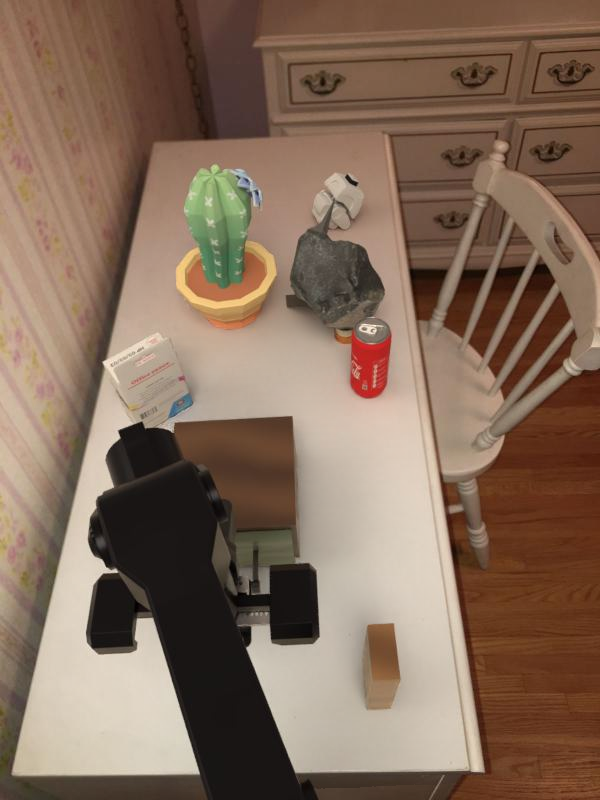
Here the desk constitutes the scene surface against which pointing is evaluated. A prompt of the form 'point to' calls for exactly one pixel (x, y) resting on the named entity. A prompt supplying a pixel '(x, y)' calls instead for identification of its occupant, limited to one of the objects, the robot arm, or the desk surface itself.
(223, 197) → the potted cactus
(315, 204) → the white faceted figurine
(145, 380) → the ink box
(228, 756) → the robot arm
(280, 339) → the desk surface
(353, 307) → the narwhal figurine
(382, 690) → the stand
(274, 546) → the drawer
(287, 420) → the cabinet
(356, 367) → the beverage can
